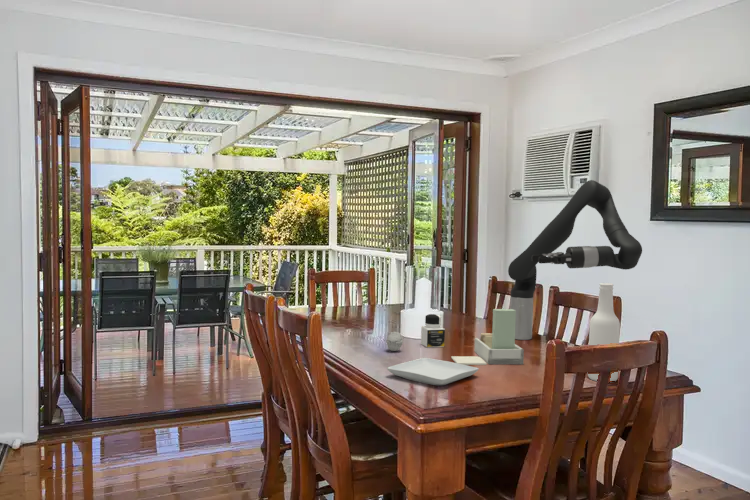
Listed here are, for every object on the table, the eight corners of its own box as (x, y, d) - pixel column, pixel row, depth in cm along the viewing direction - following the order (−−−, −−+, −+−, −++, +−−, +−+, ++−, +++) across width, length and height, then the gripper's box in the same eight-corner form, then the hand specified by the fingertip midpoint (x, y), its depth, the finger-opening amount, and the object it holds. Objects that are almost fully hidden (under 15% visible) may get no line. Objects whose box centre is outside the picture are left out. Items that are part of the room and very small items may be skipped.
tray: (474, 351, 225) (474, 338, 225) (506, 351, 226) (506, 338, 226) (488, 364, 205) (489, 349, 205) (523, 364, 206) (523, 349, 206)
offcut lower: (480, 346, 224) (480, 339, 224) (501, 346, 225) (501, 340, 225) (484, 350, 218) (485, 343, 218) (506, 350, 219) (506, 343, 219)
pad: (451, 358, 213) (451, 356, 213) (479, 358, 214) (479, 356, 214) (457, 364, 204) (457, 363, 203) (486, 364, 204) (486, 363, 204)
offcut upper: (480, 340, 224) (480, 333, 224) (500, 339, 225) (501, 333, 225) (486, 343, 218) (486, 336, 218) (507, 343, 219) (507, 336, 219)
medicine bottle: (427, 347, 230) (427, 316, 229) (420, 344, 237) (421, 313, 236) (444, 347, 232) (445, 316, 231) (437, 343, 239) (438, 313, 238)
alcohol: (610, 375, 194) (614, 282, 192) (622, 383, 185) (626, 285, 183) (583, 375, 193) (587, 281, 192) (594, 382, 184) (598, 284, 183)
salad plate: (424, 366, 203) (424, 355, 202) (480, 377, 189) (480, 366, 189) (384, 377, 186) (384, 366, 186) (442, 391, 173) (443, 379, 173)
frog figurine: (404, 349, 225) (404, 331, 225) (400, 353, 219) (400, 334, 218) (388, 348, 227) (389, 330, 227) (383, 352, 220) (384, 333, 220)
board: (491, 354, 211) (493, 309, 210) (511, 354, 212) (512, 309, 211) (494, 356, 208) (495, 310, 207) (514, 357, 208) (515, 310, 207)
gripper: (589, 269, 203) (541, 272, 203) (575, 266, 217) (530, 268, 217) (589, 247, 203) (540, 249, 203) (574, 245, 217) (529, 247, 217)
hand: (535, 259), depth 210 cm, fingers open, 8 cm apart
